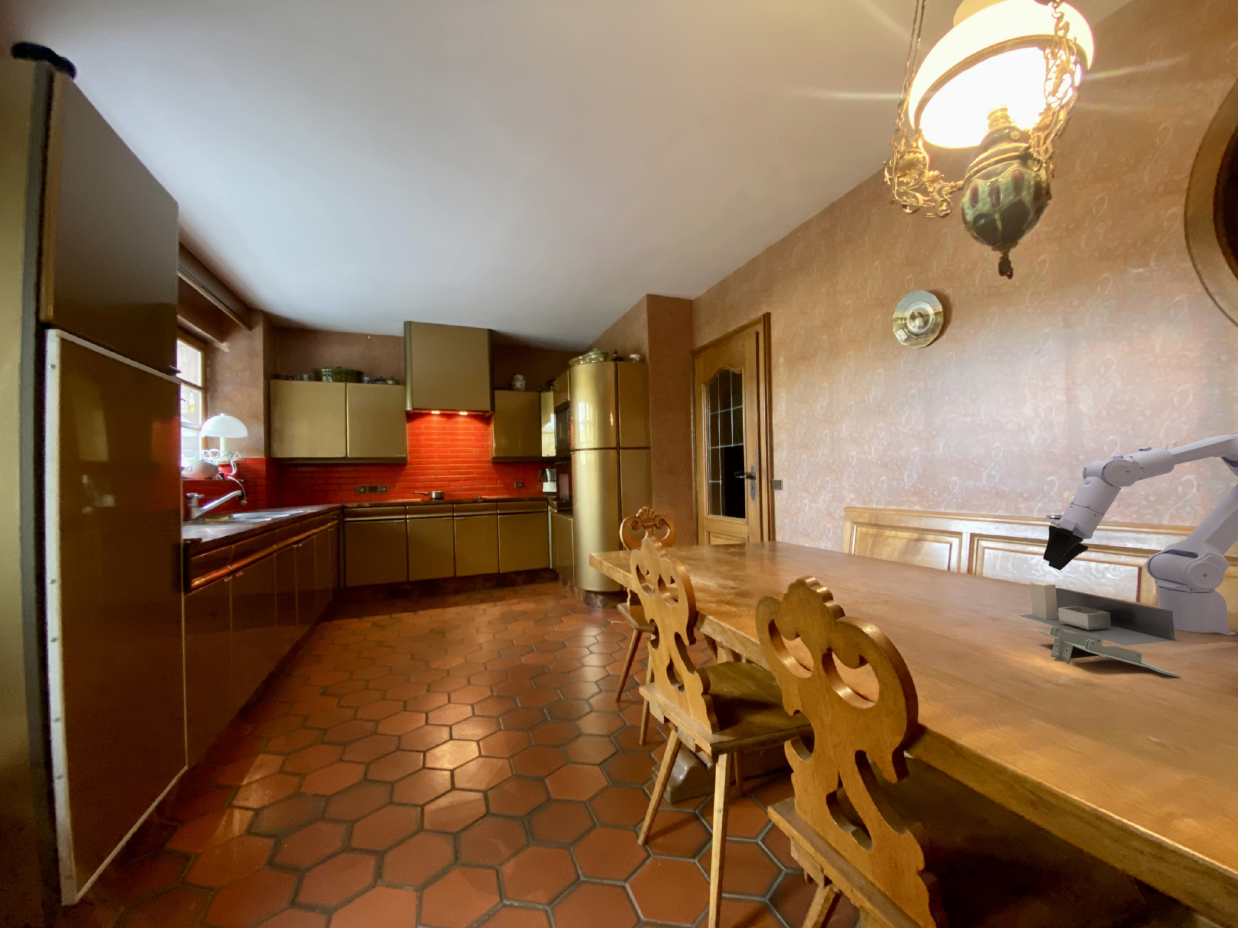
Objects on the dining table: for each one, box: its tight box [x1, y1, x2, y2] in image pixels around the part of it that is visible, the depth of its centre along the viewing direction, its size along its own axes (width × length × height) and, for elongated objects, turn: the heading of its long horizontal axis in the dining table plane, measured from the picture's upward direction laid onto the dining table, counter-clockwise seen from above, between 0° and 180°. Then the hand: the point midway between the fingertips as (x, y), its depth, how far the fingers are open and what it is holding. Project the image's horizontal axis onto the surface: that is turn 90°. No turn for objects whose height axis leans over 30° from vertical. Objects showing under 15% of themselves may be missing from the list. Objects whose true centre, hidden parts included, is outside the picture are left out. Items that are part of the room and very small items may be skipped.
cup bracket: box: [1056, 587, 1176, 641], centre depth 98 cm, size 10×20×6 cm, turn 9°
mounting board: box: [1019, 612, 1177, 646], centre depth 98 cm, size 12×20×1 cm, turn 9°
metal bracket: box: [1038, 625, 1182, 679], centre depth 84 cm, size 14×6×15 cm
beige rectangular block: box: [1030, 581, 1058, 620], centre depth 105 cm, size 3×3×8 cm
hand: (1051, 564), depth 102 cm, fingers open, 7 cm apart
